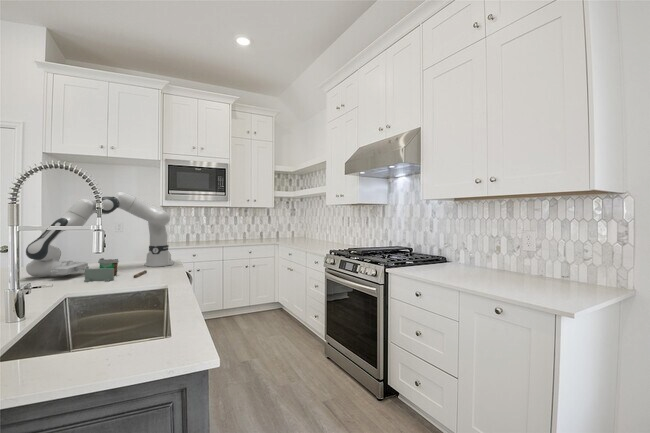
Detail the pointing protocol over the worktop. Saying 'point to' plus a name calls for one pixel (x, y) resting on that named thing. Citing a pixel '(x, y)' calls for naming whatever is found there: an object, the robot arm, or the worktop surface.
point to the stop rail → (140, 273)
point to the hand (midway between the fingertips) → (87, 268)
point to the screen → (99, 275)
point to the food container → (109, 264)
